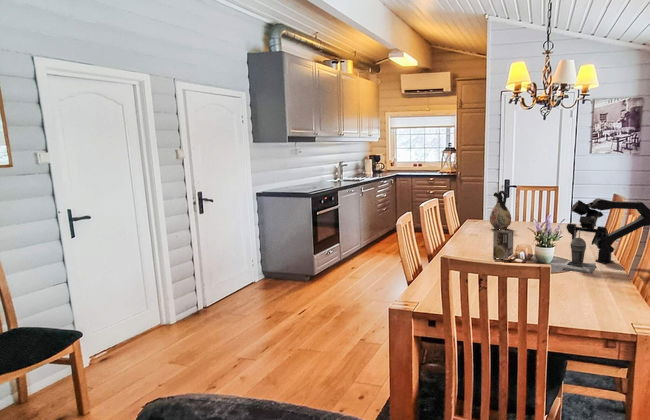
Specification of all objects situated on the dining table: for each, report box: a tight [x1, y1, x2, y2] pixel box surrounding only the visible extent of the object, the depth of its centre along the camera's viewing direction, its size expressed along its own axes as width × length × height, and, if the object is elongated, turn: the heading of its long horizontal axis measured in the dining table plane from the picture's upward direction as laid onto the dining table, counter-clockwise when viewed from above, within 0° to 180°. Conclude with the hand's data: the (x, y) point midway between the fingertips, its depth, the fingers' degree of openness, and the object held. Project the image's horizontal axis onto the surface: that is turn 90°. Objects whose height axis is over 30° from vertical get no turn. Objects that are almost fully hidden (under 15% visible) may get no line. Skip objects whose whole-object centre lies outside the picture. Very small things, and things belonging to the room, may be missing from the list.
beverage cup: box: [569, 230, 587, 267], centre depth 231 cm, size 7×7×20 cm
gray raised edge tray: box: [562, 264, 597, 274], centre depth 232 cm, size 13×14×1 cm
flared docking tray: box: [562, 260, 597, 274], centre depth 232 cm, size 13×15×2 cm
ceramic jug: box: [489, 190, 512, 231], centre depth 336 cm, size 17×15×30 cm
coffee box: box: [492, 230, 514, 259], centre depth 254 cm, size 9×6×16 cm
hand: (582, 243), depth 234 cm, fingers open, 9 cm apart
